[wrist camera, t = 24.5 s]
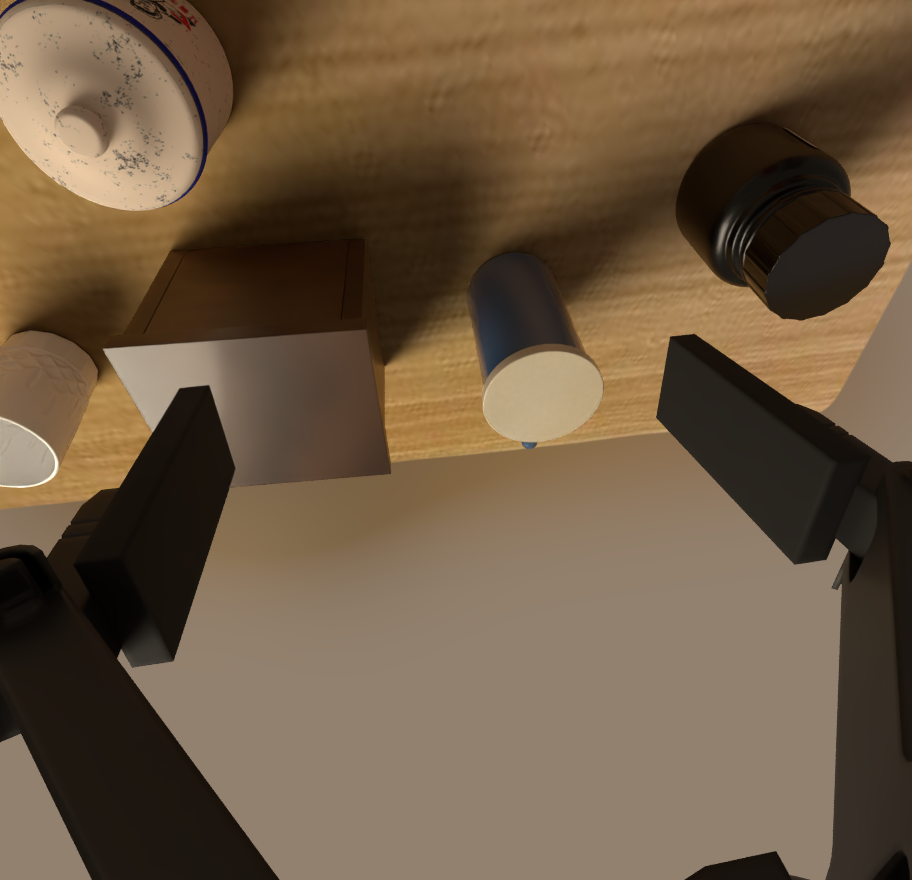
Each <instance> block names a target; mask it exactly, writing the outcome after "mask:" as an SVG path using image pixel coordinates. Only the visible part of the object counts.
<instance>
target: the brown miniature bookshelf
mask: <svg viewBox="0 0 912 880" xmlns="http://www.w3.org/2000/svg"><path fill="white" fill-rule="evenodd" d="M102 349H103V351H104V353H105V354H106V356H107V358H108V359H109V361H110V363H111V364H112V366H113V368H114V369H115V371H116V373H117V374H118V376H119V378H120V379H121V381H122V383H123V384H124V386H125V388H126V389H127V391H128V393H129V394H130V396H131V398H132V399H133V401H134V403H135V404H136V406H137V408H138V409H139V411H140V413H141V414H142V416H143V418H144V420H145V421H146V423H147V425H148V426H149V428H150V430H151V431H152V433H153V431H154V430H155V428H156V426H157V425H158V423H159V421H160V420H161V418H162V417H163V415H164V413H165V412H166V410H167V408H168V407H169V405H170V403H171V402H172V400H173V398H174V397H175V395H176V393H177V392H178V390H179V388H185V387H195V386H204V385H209V386H210V389H211V392H212V395H213V398H214V401H215V405H216V408H217V411H218V414H219V417H220V420H221V424H222V427H223V430H224V433H225V436H226V439H227V443H228V446H229V449H230V452H231V455H232V458H233V462H234V465H235V468H236V469H235V472H234V476H233V479H232V482H231V485H230V487H242V486H253V485H266V484H277V483H288V482H301V481H313V480H325V479H335V478H348V477H359V476H371V475H384V474H391V461H390V455H389V449H388V443H387V436H386V430H385V367H384V360H383V354H382V347H381V340H380V333H379V327H378V320H377V313H376V306H375V300H374V293H373V286H372V279H371V273H370V266H369V259H368V252H367V246H366V239H365V238H363V239H350V240H333V241H317V242H302V243H286V244H271V245H255V246H240V247H224V248H209V249H193V250H176V251H170V252H169V254H168V256H167V258H166V259H165V261H164V263H163V265H162V267H161V268H160V270H159V272H158V274H157V276H156V277H155V279H154V281H153V283H152V284H151V286H150V288H149V290H148V292H147V293H146V295H145V297H144V299H143V301H142V302H141V304H140V306H139V308H138V309H137V311H136V313H135V315H134V317H133V318H132V320H131V322H130V324H129V326H128V327H127V329H126V331H125V333H124V334H123V335H119V336H109V337H108V339H107V341H106V342H105V344H104V346H103V347H102Z"/></svg>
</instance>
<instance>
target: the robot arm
mask: <svg viewBox="0 0 912 880" xmlns="http://www.w3.org/2000/svg"><path fill="white" fill-rule="evenodd" d="M656 418H657V419H658V420H659V421H660V422H661V423H662V424H663V425H664V426H665V428H666V429H667V430H668V431H669V432H670V433H671V434H672V435H673V436H674V437H675V438H676V439H677V440H678V441H679V442H680V443H681V444H682V446H683V447H684V448H685V449H686V450H687V451H688V452H689V453H690V454H691V455H692V456H693V457H694V458H695V459H696V460H697V462H699V464H700V465H701V466H702V467H703V468H704V469H705V470H706V471H707V472H708V473H709V474H710V475H711V476H712V477H713V478H714V480H715V481H716V482H717V483H718V484H719V485H720V486H721V487H722V488H723V489H724V490H725V491H726V492H727V493H728V494H729V496H730V497H731V498H732V499H734V501H735V502H736V503H737V504H738V505H739V506H740V507H741V508H742V509H743V510H744V511H745V513H747V515H748V516H749V517H750V518H751V519H752V520H753V521H754V522H755V523H756V524H757V525H758V526H759V527H760V528H761V530H762V531H763V532H764V533H765V534H766V535H767V536H768V537H769V538H770V539H771V540H772V541H773V542H774V543H775V544H776V545H777V547H778V548H779V549H780V550H781V551H782V552H783V553H784V554H785V555H786V556H787V557H788V558H789V559H790V560H791V561H792V562H793V563H794V564H802V563H809V562H814V561H821V560H826V559H827V557H828V555H829V553H830V550H831V548H832V545H833V543H834V541H835V539H837V540H839V541H840V542H841V543H842V544H843V545H844V546H845V547H846V548H847V549H848V550H849V551H848V553H847V555H846V557H845V560H844V562H843V564H842V566H841V568H840V570H839V573H838V575H837V577H836V579H835V582H834V584H833V586H832V588H833V589H836V590H838V588H839V586H840V584H842V598H841V600H842V601H841V627H840V655H839V683H838V711H837V739H836V767H835V795H834V824H833V848H832V857H831V863H830V867H829V870H828V873H827V876H826V880H912V462H910V461H901V462H894V463H893V462H891V461H890V460H888V459H887V458H885V457H884V456H882V455H881V454H879V453H878V452H877V451H875V450H873V449H872V448H871V447H869V446H868V445H866V444H865V443H863V442H862V441H860V440H859V439H857V438H856V437H854V436H853V435H849V434H848V432H847V431H845V430H844V429H843V428H841V427H840V426H835V423H834V422H832V421H831V420H829V419H828V418H826V417H825V416H823V415H822V414H820V413H819V412H817V411H814V410H812V409H809V408H807V407H804V406H802V405H799V404H794V403H793V402H792V401H790V400H789V399H787V398H786V397H784V396H783V395H782V394H780V393H779V392H777V391H776V390H774V389H773V388H771V387H770V386H769V385H767V384H766V383H764V382H763V381H761V380H760V379H759V378H757V377H756V376H754V375H753V374H751V373H750V372H748V371H747V370H746V369H744V368H743V367H741V366H740V365H738V364H737V363H736V362H734V361H733V360H731V359H730V358H728V357H727V356H725V355H724V354H723V353H721V352H720V351H718V350H717V349H715V348H714V347H713V346H711V345H710V344H708V343H707V342H705V341H704V340H702V339H701V338H700V337H698V336H697V335H695V334H691V335H681V336H672V337H670V341H669V347H668V352H667V358H666V364H665V370H664V376H663V381H662V387H661V393H660V399H659V405H658V410H657V416H656ZM235 469H236V468H235V465H234V462H233V458H232V455H231V452H230V449H229V446H228V443H227V439H226V436H225V433H224V430H223V427H222V424H221V420H220V417H219V414H218V411H217V408H216V405H215V401H214V398H213V395H212V392H211V389H210V386H209V385H204V386H195V387H185V388H179V390H178V392H177V393H176V395H175V397H174V398H173V400H172V402H171V403H170V405H169V407H168V408H167V410H166V412H165V413H164V415H163V417H162V418H161V420H160V421H159V423H158V425H157V426H156V428H155V430H154V431H153V433H152V435H151V436H150V438H149V440H148V441H147V443H146V445H145V446H144V448H143V450H142V451H141V453H140V454H139V456H138V458H137V459H136V461H135V463H134V464H133V466H132V468H131V469H130V471H129V473H128V474H127V476H126V478H125V479H124V481H123V483H122V484H121V486H120V487H119V488H114V489H105V490H101V491H99V492H98V493H97V494H96V495H94V496H93V497H92V498H91V499H89V500H88V501H87V502H86V503H84V504H83V505H82V506H81V508H80V509H79V511H78V512H77V514H76V515H75V517H74V518H73V519H72V521H71V525H69V526H68V527H67V528H66V530H65V531H64V533H63V534H62V539H59V540H58V542H57V543H56V545H55V546H54V548H53V549H52V551H51V552H50V554H49V555H48V557H47V558H46V556H45V555H44V553H43V551H42V550H40V549H39V548H37V547H35V546H34V545H16V546H11V547H6V548H2V549H0V742H2V741H4V740H6V739H9V738H11V737H14V736H16V735H18V734H22V736H23V739H24V741H25V742H26V745H27V746H28V749H29V751H30V753H31V755H32V757H33V759H34V761H35V763H36V765H37V767H38V769H39V772H40V773H41V776H42V778H43V780H44V782H45V784H46V786H47V788H48V790H49V792H50V794H51V796H52V798H53V800H54V802H55V805H56V807H57V809H58V811H59V813H60V815H61V817H62V819H63V821H64V823H65V825H66V827H67V829H68V831H69V833H70V836H71V838H72V840H73V841H74V844H75V846H76V847H77V850H78V852H79V854H80V856H81V858H82V860H83V862H84V864H85V866H86V869H87V871H88V873H89V875H90V877H91V878H92V880H279V879H278V877H277V876H276V874H275V873H274V872H273V870H272V869H271V868H270V866H269V865H268V864H267V862H266V861H265V860H264V858H263V857H262V855H261V854H260V853H259V851H258V850H257V849H256V847H255V846H254V845H253V843H252V842H251V841H250V839H249V838H248V836H247V835H246V834H245V832H244V831H243V830H242V828H241V827H240V826H239V824H238V823H237V822H236V820H235V819H234V817H233V816H232V815H231V813H230V812H229V811H228V809H227V808H226V806H225V805H224V804H223V802H222V801H221V800H220V799H219V797H218V796H217V794H216V793H215V792H214V790H213V789H212V787H211V786H210V785H209V783H208V782H207V781H206V779H205V778H204V777H203V775H202V774H201V772H200V771H199V770H198V768H197V767H196V766H195V764H194V763H193V762H192V760H191V759H190V757H189V756H188V755H187V753H186V752H185V751H184V749H183V748H182V747H181V745H180V744H179V743H178V741H177V740H176V738H175V737H174V736H173V734H172V733H171V732H170V730H169V729H168V728H167V726H166V725H165V723H164V722H163V721H162V719H161V718H160V717H159V715H158V714H157V713H156V711H155V710H154V709H153V707H152V706H151V705H150V703H149V702H148V700H147V699H146V698H145V696H144V695H143V694H142V692H141V691H140V689H139V688H138V687H137V685H136V684H135V683H134V681H133V680H132V679H131V677H130V676H129V675H128V673H127V672H126V670H125V669H124V668H123V667H122V665H121V664H120V662H119V661H118V660H117V657H118V655H119V652H120V650H121V649H122V651H123V652H124V654H125V656H126V658H127V659H128V661H129V663H130V665H131V666H132V667H139V666H146V665H152V664H159V663H164V662H172V661H174V658H175V655H176V652H177V649H178V646H179V643H180V640H181V636H182V633H183V630H184V627H185V624H186V621H187V618H188V614H189V612H190V608H191V605H192V602H193V599H194V596H195V593H196V590H197V587H198V584H199V581H200V578H201V575H202V571H203V568H204V565H205V562H206V559H207V556H208V553H209V550H210V547H211V543H212V540H213V537H214V534H215V531H216V528H217V525H218V522H219V519H220V516H221V513H222V510H223V506H224V503H225V500H226V497H227V494H228V491H229V488H230V485H231V482H232V479H233V476H234V472H235ZM685 880H809V879H804V878H801V877H797V876H791V875H789V874H788V872H787V870H786V868H785V866H784V864H783V863H782V861H781V859H780V857H779V855H778V854H777V852H776V851H774V852H770V853H765V854H761V855H756V856H751V857H746V858H742V859H737V860H733V861H728V862H723V863H718V864H714V865H709V866H705V867H704V868H702V869H700V870H699V871H697V872H696V873H694V874H693V875H691V876H690V877H688V878H687V879H685Z"/></svg>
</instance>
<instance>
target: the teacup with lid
mask: <svg viewBox="0 0 912 880" xmlns="http://www.w3.org/2000/svg"><path fill="white" fill-rule="evenodd" d="M232 103H233V81H232V75H231V71H230V67H229V63H228V60H227V57H226V55H225V52H224V50H223V48H222V46H221V44H220V42H219V40H218V38H217V36H216V35H215V33H214V31H213V30H212V28H211V27H210V26H209V24H208V23H207V21H206V20H205V19H204V18H203V17H202V15H201V14H200V13H199V12H198V11H197V10H196V9H195V8H194V7H193V6H192V5H191V4H190V3H189V2H188V1H187V0H17V1H15V2H14V3H12V4H11V5H10V6H8V7H7V8H6V9H5V10H4V11H3V12H2V14H1V15H0V117H1V118H2V120H3V122H4V124H5V126H6V128H7V129H8V131H9V132H10V134H11V135H12V137H13V138H14V140H15V141H16V142H17V144H18V145H19V146H20V148H21V149H22V150H23V151H24V152H25V154H26V155H27V156H28V157H29V158H30V159H31V160H32V161H33V162H34V163H35V164H36V165H37V166H38V167H39V168H40V169H41V170H42V171H43V172H45V173H46V174H47V175H48V176H50V177H51V178H52V179H53V180H55V181H56V182H58V183H59V184H60V185H62V186H63V187H65V188H67V189H68V190H70V191H72V192H73V193H75V194H77V195H79V196H81V197H83V198H85V199H87V200H90V201H92V202H95V203H97V204H100V205H104V206H107V207H111V208H116V209H121V210H131V211H143V210H151V209H157V208H160V207H164V206H167V205H170V204H172V203H174V202H176V201H178V200H179V199H181V198H182V197H184V196H185V195H186V194H187V193H188V192H189V191H190V190H191V189H192V188H193V187H194V186H195V184H196V183H197V181H198V179H199V178H200V176H201V174H202V172H203V169H204V166H205V163H206V158H207V154H208V153H209V151H210V150H211V148H212V146H213V145H214V143H215V142H216V140H217V138H218V137H219V135H220V134H221V132H222V130H223V129H224V127H225V126H226V123H227V121H228V119H229V116H230V113H231V109H232Z"/></svg>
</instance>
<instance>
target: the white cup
mask: <svg viewBox="0 0 912 880" xmlns="http://www.w3.org/2000/svg"><path fill="white" fill-rule="evenodd" d="M97 376H98V370H97V368H96V366H95V364H94V362H93V361H92V359H91V357H90V356H89V355H88V354H87V353H86V352H85V351H83V350H82V349H81V348H80V347H79V346H77V345H76V344H75V343H73V342H71V341H69V340H67V339H65V338H62V337H60V336H58V335H55V334H53V333H47V332H39V331H32V330H30V331H26V332H21V333H17V334H13V335H11V336H10V338H9V339H8V340H7V341H6V342H5V343H4V344H3V345H2V346H1V348H0V486H4V487H32V486H37V485H40V484H43V483H46V482H48V481H49V480H51V479H52V478H53V477H54V476H55V475H56V474H57V472H58V470H59V468H60V465H61V463H62V461H63V459H64V457H65V455H66V453H67V450H68V448H69V446H70V444H71V442H72V440H73V438H74V436H75V434H76V431H77V429H78V427H79V425H80V422H81V420H82V417H83V415H84V413H85V411H86V409H87V406H88V403H89V399H90V397H91V395H92V393H93V391H94V389H95V387H96V385H97Z"/></svg>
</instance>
